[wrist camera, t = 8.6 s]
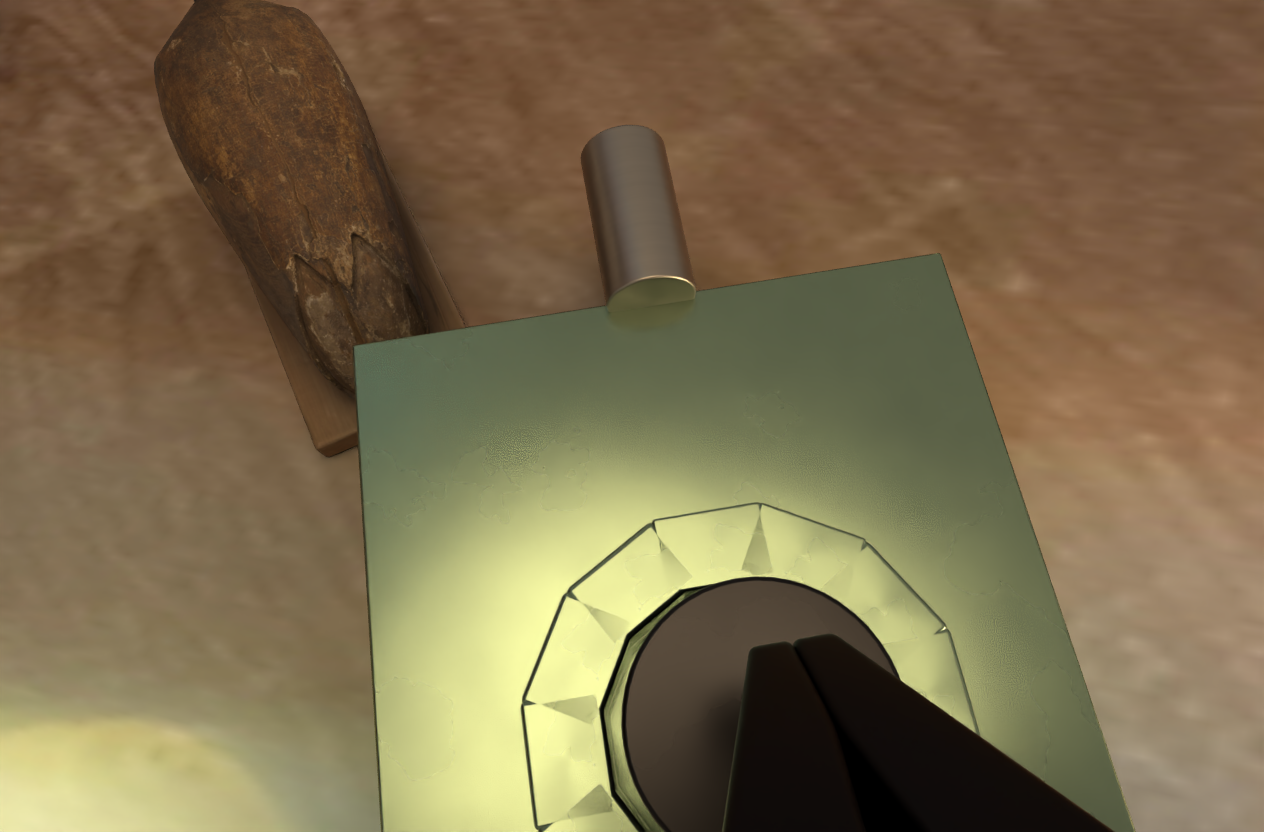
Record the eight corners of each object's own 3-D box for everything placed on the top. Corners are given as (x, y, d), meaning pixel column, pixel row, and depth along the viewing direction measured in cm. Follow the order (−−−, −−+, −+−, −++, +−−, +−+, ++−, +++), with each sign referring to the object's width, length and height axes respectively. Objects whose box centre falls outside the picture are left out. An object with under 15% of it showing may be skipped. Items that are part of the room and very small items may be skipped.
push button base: (1031, 849, 18) (1240, 900, 12) (455, 958, 18) (345, 1071, 11) (883, 352, 23) (978, 186, 16) (411, 428, 22) (311, 289, 16)
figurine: (169, 61, 26) (-43, -248, 18) (313, 8, 27) (170, -314, 19) (327, 464, 22) (138, 289, 14) (496, 387, 22) (410, 177, 14)
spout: (694, 315, 18) (698, 270, 17) (608, 328, 18) (605, 285, 17) (663, 172, 20) (664, 118, 18) (583, 184, 20) (577, 131, 18)
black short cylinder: (897, 835, 13) (950, 853, 10) (648, 882, 13) (647, 908, 10) (835, 586, 14) (869, 553, 12) (608, 625, 14) (600, 600, 12)
